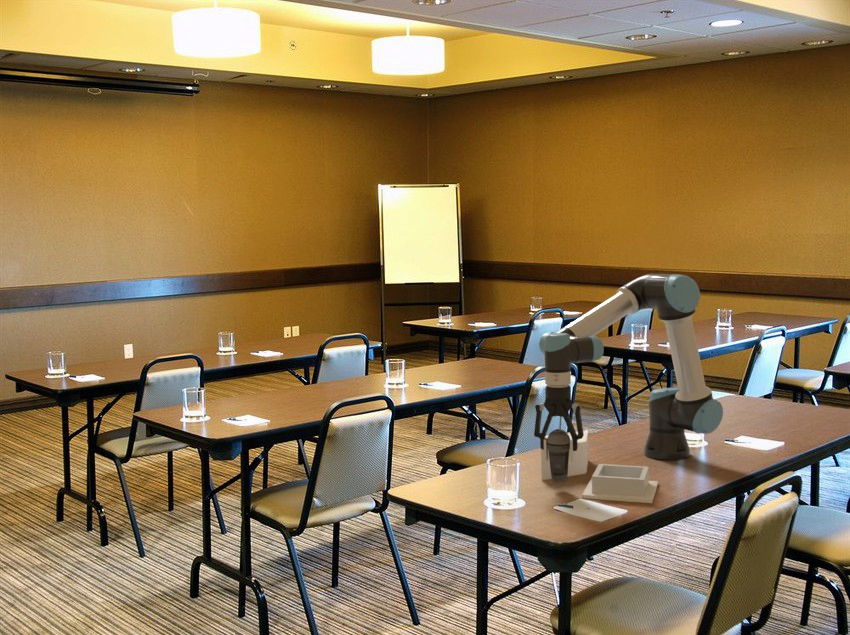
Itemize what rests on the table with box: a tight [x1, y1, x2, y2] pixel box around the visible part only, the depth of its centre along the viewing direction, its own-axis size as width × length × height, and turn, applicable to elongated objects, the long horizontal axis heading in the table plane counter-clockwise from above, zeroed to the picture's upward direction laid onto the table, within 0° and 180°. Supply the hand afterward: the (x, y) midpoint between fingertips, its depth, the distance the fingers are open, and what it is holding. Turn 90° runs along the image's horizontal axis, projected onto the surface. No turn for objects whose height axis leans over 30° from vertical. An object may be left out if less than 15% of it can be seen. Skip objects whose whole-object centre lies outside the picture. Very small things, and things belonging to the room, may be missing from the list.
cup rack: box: [581, 463, 659, 504], centre depth 280 cm, size 20×20×6 cm
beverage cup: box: [547, 416, 570, 483], centre depth 281 cm, size 7×7×20 cm
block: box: [540, 429, 589, 481], centre depth 305 cm, size 15×30×11 cm, turn 141°
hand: (559, 460), depth 281 cm, fingers closed on beverage cup, 7 cm apart
